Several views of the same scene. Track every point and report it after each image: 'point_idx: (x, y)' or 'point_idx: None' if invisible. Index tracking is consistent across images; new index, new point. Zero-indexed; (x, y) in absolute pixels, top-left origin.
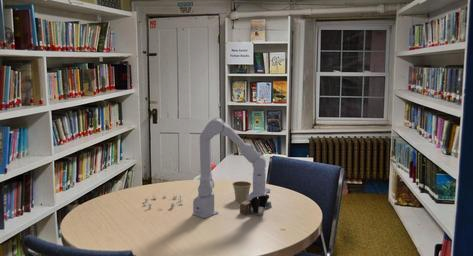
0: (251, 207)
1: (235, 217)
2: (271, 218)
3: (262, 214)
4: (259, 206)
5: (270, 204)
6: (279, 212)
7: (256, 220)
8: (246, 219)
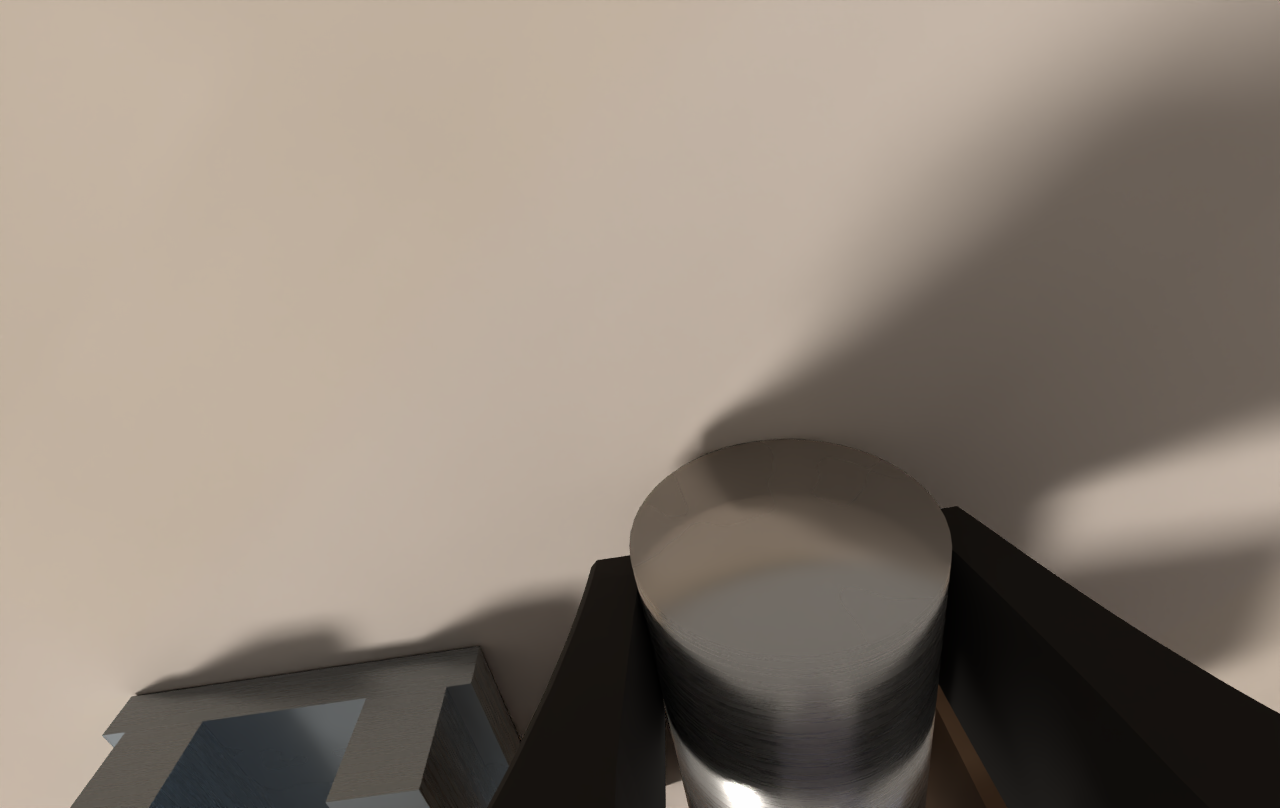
0: (924, 800)
1: (1231, 663)
2: (711, 48)
3: (715, 461)
4: (829, 730)
5: (126, 763)
6: (97, 320)
7: (1191, 250)
8: (1245, 467)
